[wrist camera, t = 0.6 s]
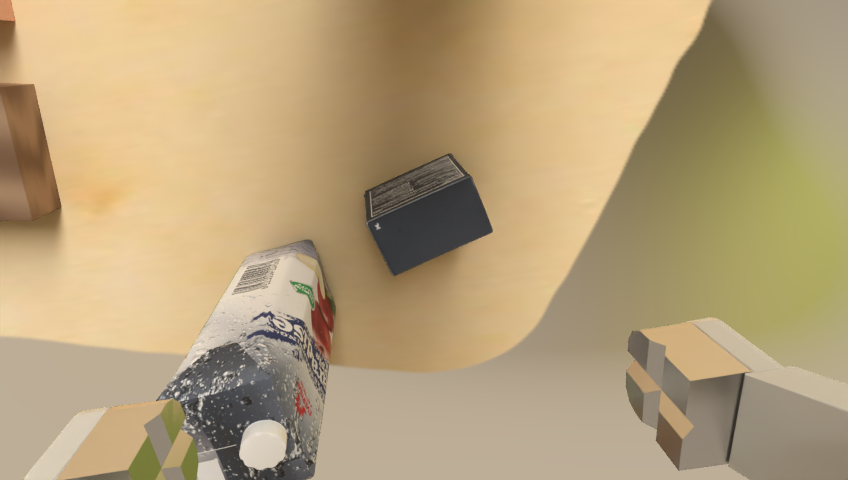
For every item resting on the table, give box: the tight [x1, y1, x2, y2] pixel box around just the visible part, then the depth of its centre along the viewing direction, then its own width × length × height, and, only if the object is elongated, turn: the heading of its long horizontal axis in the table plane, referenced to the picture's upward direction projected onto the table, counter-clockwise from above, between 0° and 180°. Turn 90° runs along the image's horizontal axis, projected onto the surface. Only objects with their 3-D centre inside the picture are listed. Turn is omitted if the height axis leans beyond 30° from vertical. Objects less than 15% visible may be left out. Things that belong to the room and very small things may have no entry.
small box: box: [364, 154, 493, 276], centre depth 49 cm, size 11×6×10 cm, turn 114°
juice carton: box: [156, 240, 336, 480], centre depth 43 cm, size 9×10×27 cm
